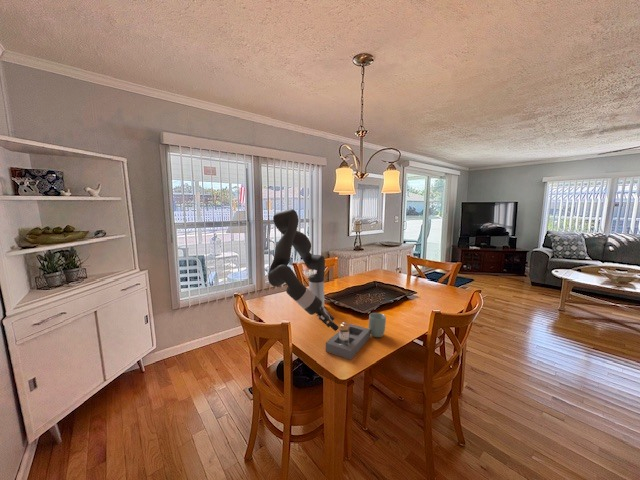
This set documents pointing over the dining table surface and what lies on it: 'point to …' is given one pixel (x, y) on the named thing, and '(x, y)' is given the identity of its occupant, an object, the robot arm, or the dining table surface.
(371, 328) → the cup
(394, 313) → the dining table surface
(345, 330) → the glass bottle
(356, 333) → the rack
